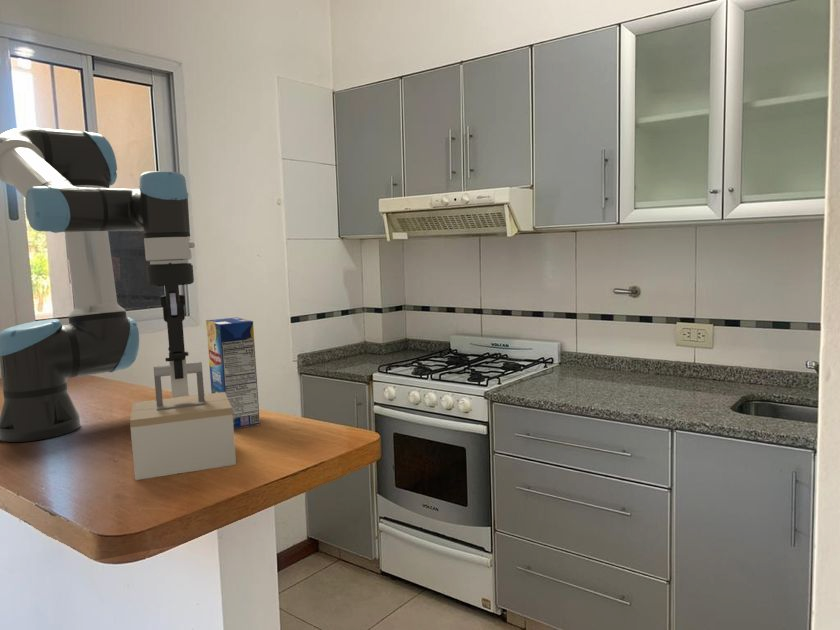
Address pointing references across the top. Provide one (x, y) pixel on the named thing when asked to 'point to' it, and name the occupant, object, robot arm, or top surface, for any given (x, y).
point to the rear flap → (161, 402)
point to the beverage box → (234, 367)
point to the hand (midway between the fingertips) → (180, 394)
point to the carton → (182, 438)
